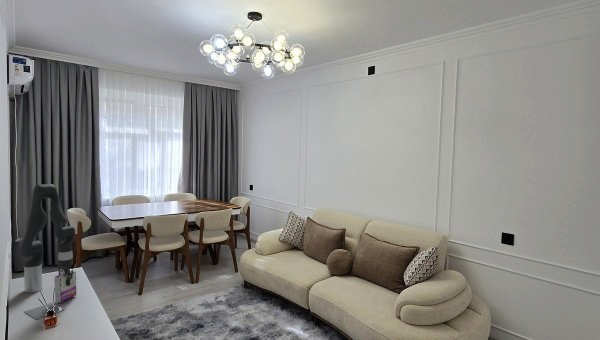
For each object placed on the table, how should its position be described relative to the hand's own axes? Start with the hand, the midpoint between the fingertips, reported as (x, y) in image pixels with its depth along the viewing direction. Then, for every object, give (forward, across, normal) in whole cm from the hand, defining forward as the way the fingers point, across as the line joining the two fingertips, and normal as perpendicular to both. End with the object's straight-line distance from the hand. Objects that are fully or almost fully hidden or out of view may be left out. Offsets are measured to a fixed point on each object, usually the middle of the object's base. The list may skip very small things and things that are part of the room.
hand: (65, 283), depth 209 cm
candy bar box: (+10, 0, 0) cm, 10 cm away
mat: (+10, +6, -14) cm, 18 cm away
